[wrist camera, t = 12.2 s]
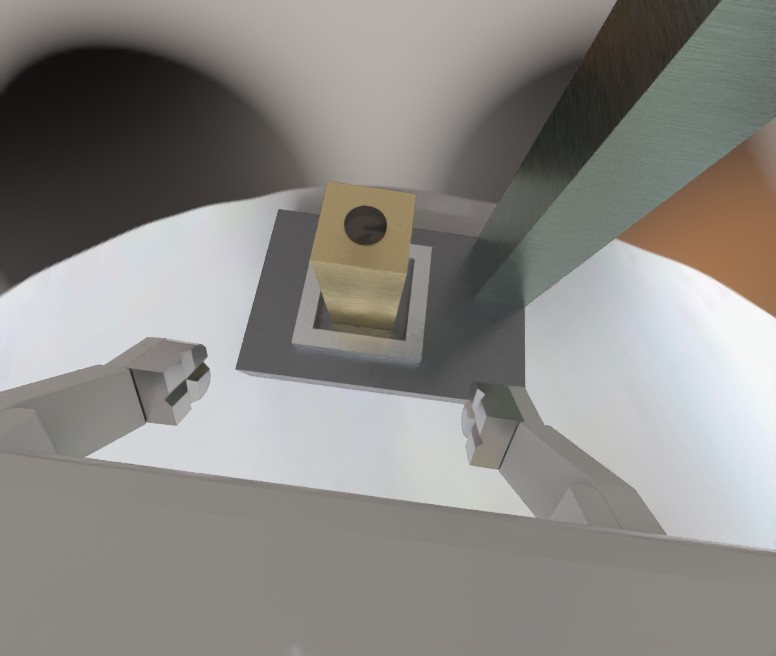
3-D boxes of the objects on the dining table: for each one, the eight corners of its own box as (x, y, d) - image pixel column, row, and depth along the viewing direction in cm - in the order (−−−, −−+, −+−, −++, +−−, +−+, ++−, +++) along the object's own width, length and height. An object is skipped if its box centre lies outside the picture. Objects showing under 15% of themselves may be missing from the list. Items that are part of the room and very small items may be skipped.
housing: (399, 275, 24) (416, 191, 16) (392, 330, 23) (407, 272, 14) (342, 267, 24) (327, 178, 15) (332, 322, 23) (309, 258, 14)
